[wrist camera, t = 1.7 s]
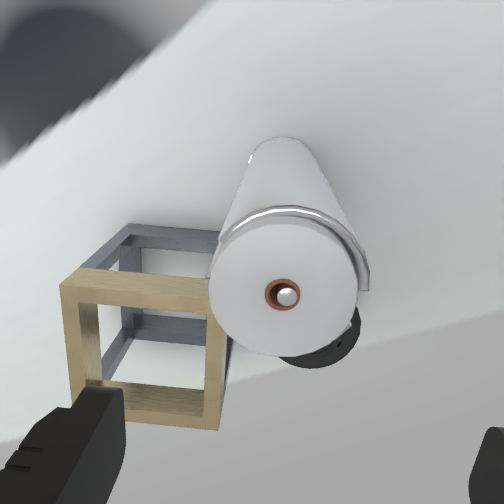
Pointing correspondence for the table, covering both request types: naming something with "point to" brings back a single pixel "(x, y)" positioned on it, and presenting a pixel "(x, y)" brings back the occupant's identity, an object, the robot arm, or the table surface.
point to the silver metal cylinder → (285, 257)
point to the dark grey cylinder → (330, 348)
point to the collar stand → (146, 325)
